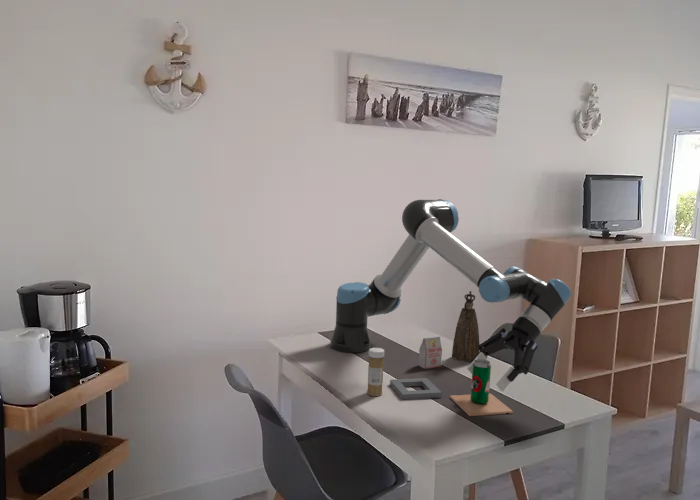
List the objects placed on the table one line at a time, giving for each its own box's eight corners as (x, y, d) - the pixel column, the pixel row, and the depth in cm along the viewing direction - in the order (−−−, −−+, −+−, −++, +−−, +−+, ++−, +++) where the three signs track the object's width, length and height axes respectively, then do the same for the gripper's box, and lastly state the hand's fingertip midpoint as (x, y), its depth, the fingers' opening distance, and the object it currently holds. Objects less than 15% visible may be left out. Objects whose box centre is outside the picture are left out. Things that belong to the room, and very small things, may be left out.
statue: (461, 362, 200) (465, 292, 198) (449, 357, 206) (452, 288, 204) (481, 360, 203) (485, 291, 201) (468, 355, 210) (472, 287, 208)
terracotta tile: (450, 397, 168) (450, 395, 168) (490, 395, 171) (490, 393, 171) (469, 416, 155) (469, 413, 155) (512, 413, 158) (512, 411, 158)
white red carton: (418, 365, 195) (420, 337, 194) (434, 363, 198) (436, 335, 197) (424, 368, 192) (426, 340, 191) (441, 366, 195) (442, 338, 194)
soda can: (488, 406, 161) (491, 365, 159) (470, 404, 162) (473, 363, 160) (487, 399, 166) (491, 359, 164) (470, 397, 167) (473, 357, 165)
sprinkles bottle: (384, 392, 170) (386, 348, 168) (379, 397, 165) (382, 352, 164) (369, 389, 171) (371, 346, 169) (364, 395, 167) (366, 350, 165)
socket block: (389, 384, 176) (390, 379, 176) (426, 382, 179) (426, 377, 179) (402, 399, 165) (402, 394, 165) (441, 397, 168) (441, 392, 167)
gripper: (568, 344, 156) (520, 404, 152) (509, 321, 179) (465, 372, 175) (555, 327, 153) (505, 387, 149) (496, 306, 176) (452, 357, 172)
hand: (484, 379), depth 162 cm, fingers open, 13 cm apart
